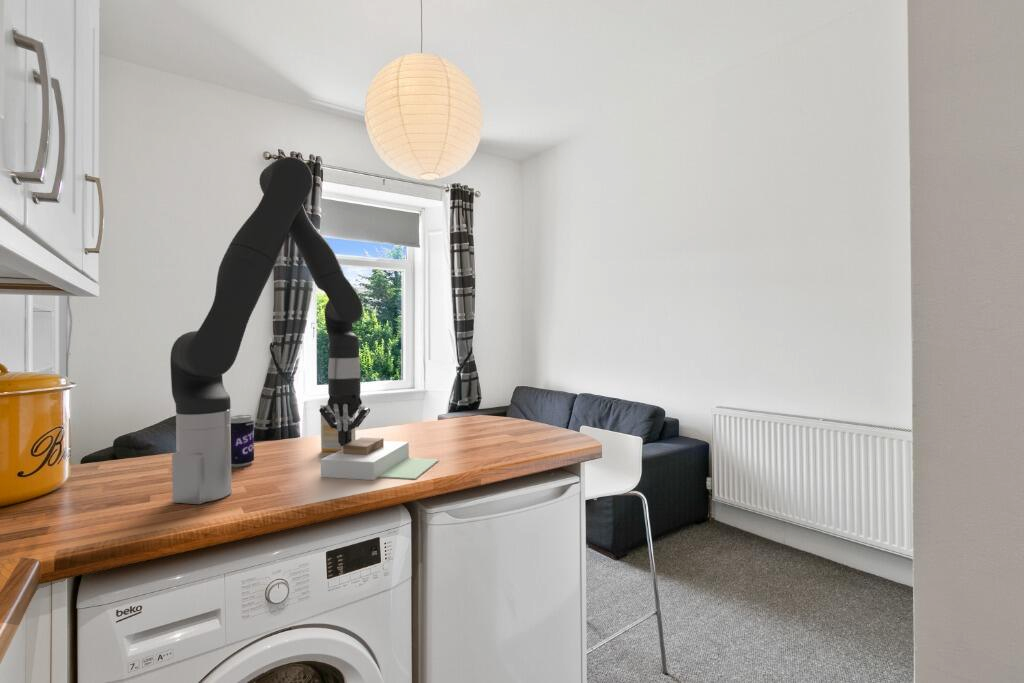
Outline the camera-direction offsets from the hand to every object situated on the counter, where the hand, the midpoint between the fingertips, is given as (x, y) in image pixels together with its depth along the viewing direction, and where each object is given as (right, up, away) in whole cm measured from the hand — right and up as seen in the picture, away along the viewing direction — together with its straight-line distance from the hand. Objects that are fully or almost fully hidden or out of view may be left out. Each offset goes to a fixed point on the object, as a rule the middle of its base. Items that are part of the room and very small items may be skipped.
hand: (345, 445), depth 120 cm
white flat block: (+6, -5, -1) cm, 8 cm away
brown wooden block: (+5, -1, -1) cm, 5 cm away
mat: (+17, -5, -3) cm, 18 cm away
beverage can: (-26, -5, +1) cm, 27 cm away
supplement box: (-7, -5, +15) cm, 18 cm away
